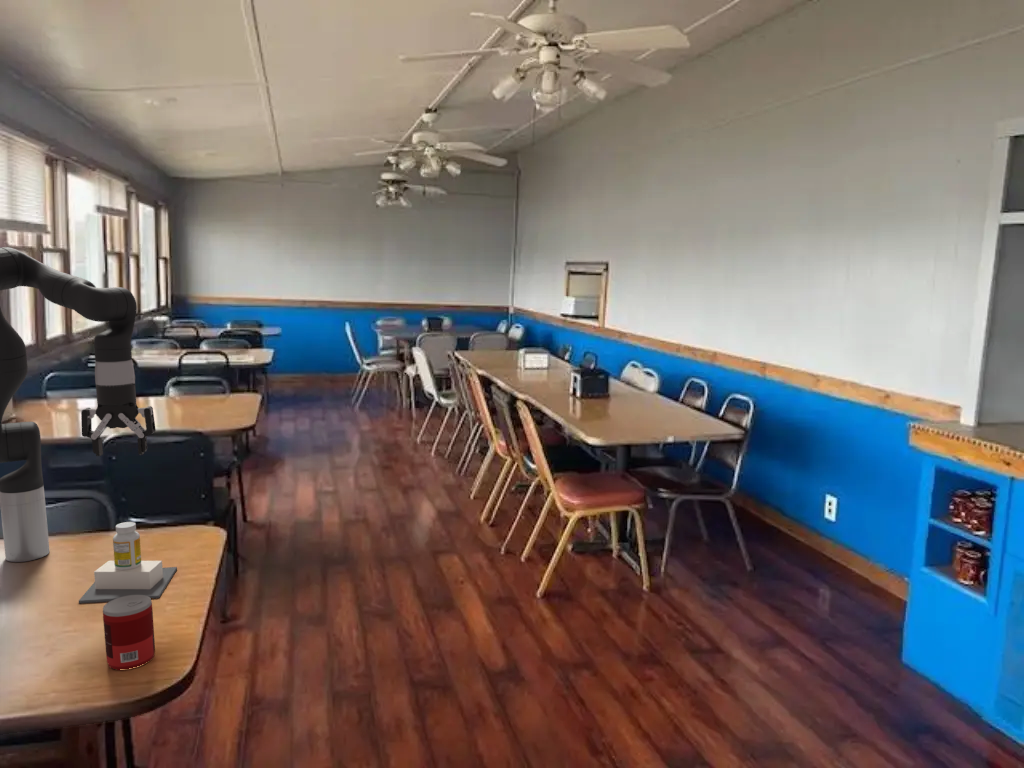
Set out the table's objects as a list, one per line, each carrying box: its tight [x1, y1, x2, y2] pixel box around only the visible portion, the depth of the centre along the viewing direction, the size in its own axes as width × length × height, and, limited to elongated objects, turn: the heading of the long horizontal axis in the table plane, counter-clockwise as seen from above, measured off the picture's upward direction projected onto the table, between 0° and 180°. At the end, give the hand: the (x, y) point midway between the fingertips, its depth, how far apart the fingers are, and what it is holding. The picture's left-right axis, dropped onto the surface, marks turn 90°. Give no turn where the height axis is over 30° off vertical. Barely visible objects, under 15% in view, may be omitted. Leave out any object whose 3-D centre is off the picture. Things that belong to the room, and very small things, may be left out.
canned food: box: [102, 595, 156, 671], centre depth 140 cm, size 8×8×11 cm
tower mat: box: [78, 566, 178, 604], centre depth 173 cm, size 16×16×1 cm
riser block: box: [93, 560, 164, 589], centre depth 172 cm, size 6×12×4 cm, turn 91°
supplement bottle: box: [112, 521, 142, 570], centre depth 171 cm, size 5×5×10 cm
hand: (120, 454), depth 168 cm, fingers open, 8 cm apart
